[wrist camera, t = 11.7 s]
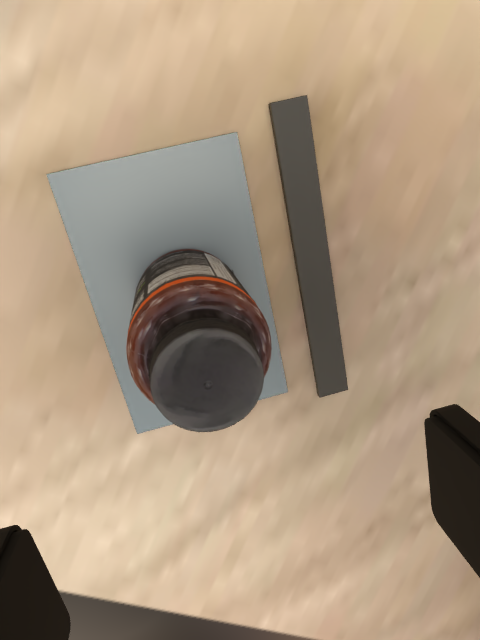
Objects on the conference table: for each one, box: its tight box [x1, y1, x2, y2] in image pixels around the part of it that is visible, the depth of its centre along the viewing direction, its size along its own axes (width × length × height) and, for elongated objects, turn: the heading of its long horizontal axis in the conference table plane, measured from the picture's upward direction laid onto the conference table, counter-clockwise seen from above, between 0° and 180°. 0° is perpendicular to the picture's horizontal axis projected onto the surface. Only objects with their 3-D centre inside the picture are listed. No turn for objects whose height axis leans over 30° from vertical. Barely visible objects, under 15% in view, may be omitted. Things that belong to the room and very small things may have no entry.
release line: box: [269, 95, 348, 397], centre depth 27 cm, size 2×18×1 cm, turn 12°
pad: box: [47, 132, 288, 434], centre depth 26 cm, size 10×16×1 cm, turn 12°
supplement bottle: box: [126, 249, 272, 432], centre depth 21 cm, size 6×6×11 cm
